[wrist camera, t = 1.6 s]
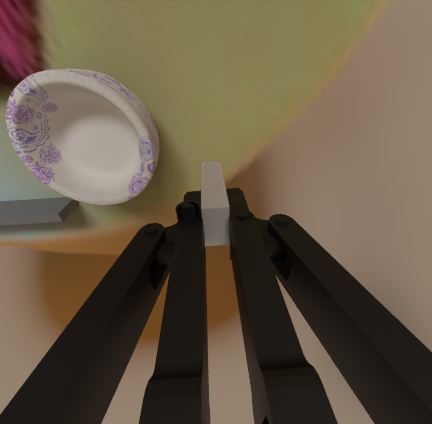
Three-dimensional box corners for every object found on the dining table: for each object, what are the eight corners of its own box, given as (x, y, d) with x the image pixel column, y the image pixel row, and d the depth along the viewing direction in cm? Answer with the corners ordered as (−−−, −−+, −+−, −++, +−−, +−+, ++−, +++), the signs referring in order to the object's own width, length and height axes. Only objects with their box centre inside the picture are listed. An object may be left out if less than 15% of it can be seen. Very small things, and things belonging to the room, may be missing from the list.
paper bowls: (169, 180, 34) (161, 207, 27) (75, 180, 33) (44, 208, 26) (156, 71, 25) (141, 72, 19) (27, 66, 24) (-36, 65, 18)
